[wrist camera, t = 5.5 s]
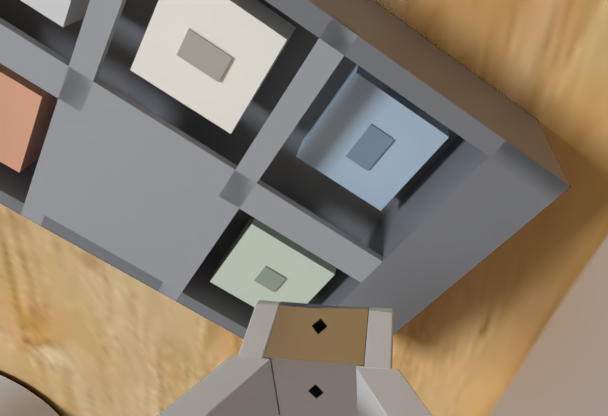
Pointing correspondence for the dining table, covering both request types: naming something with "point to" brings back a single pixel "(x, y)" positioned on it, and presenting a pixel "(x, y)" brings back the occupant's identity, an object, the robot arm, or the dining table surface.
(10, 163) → the key terracotta
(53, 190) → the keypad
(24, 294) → the dining table surface
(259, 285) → the key sage
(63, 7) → the key grey
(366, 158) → the key blue
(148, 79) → the key cream
